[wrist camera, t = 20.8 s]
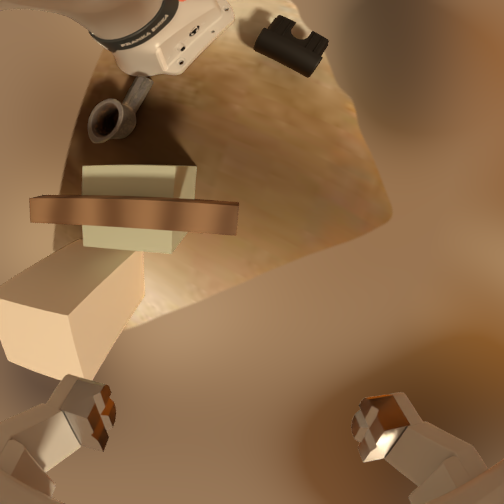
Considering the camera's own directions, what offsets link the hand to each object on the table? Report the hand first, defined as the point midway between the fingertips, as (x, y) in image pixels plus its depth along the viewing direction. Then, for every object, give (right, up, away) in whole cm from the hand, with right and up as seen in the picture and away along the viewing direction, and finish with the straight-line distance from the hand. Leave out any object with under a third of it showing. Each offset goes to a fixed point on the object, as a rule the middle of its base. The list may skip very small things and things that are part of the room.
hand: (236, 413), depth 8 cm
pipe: (-20, +29, +34) cm, 49 cm away
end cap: (+7, +39, +32) cm, 50 cm away
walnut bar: (-14, +10, +23) cm, 28 cm away
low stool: (-15, +15, +38) cm, 43 cm away
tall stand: (-26, +2, +41) cm, 49 cm away
